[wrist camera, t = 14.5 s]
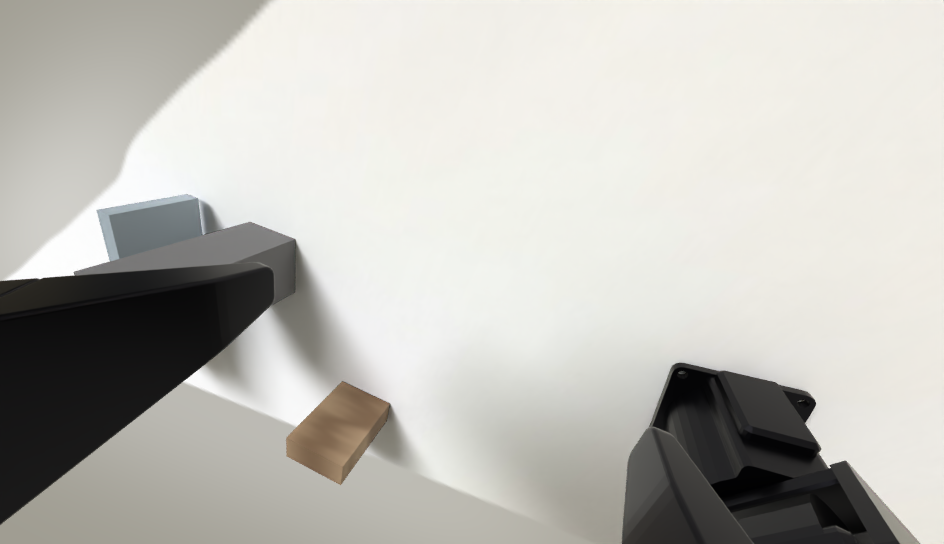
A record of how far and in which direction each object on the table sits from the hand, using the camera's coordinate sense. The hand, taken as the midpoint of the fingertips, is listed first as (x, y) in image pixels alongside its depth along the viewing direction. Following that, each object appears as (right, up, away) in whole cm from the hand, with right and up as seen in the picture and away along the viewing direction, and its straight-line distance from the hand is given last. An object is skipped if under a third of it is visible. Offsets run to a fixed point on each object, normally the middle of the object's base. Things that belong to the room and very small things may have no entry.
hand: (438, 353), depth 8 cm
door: (-22, +2, +22) cm, 31 cm away
